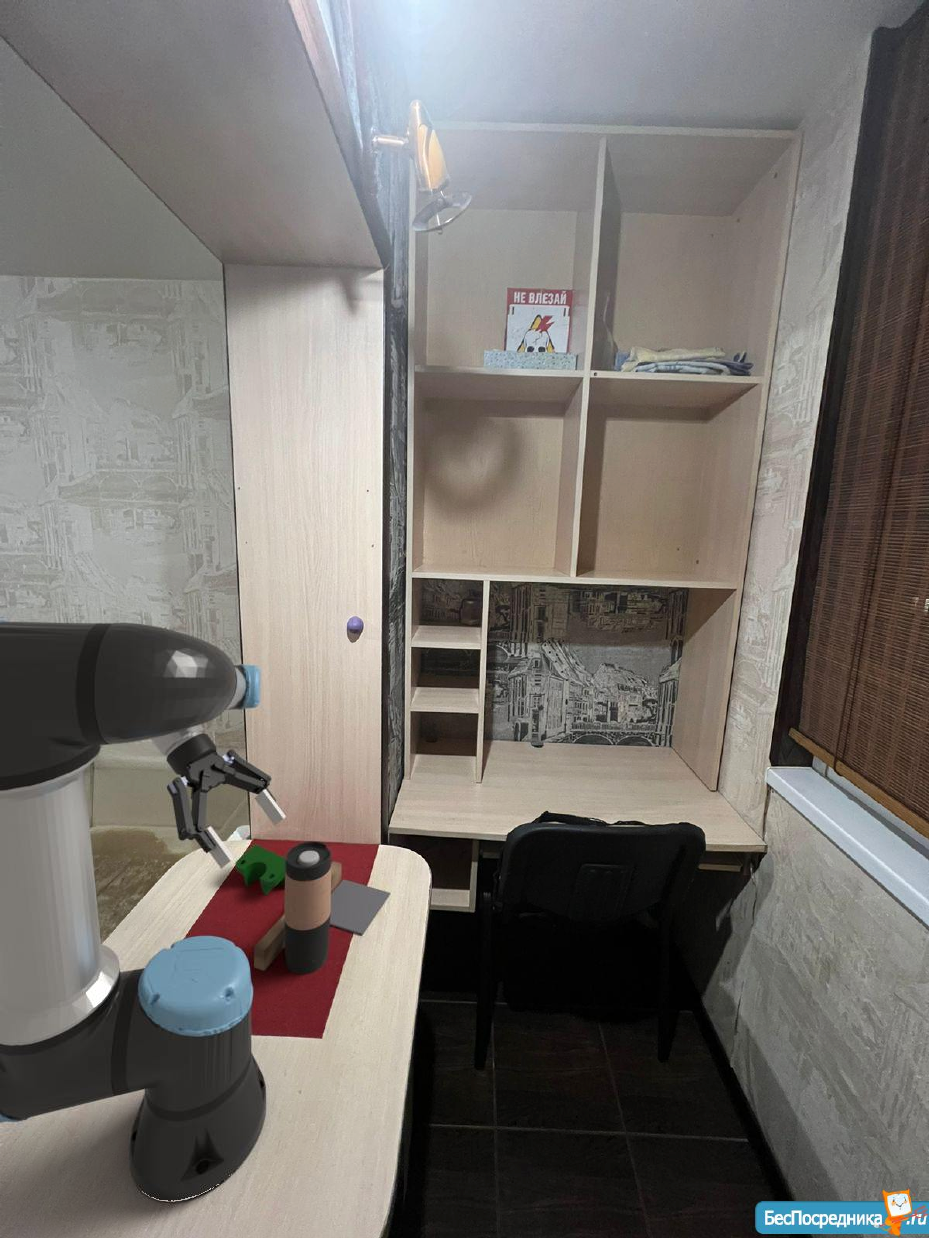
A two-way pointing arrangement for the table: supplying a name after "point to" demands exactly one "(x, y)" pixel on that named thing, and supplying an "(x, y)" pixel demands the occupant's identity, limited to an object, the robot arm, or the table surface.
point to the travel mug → (307, 906)
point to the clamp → (262, 868)
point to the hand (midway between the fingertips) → (256, 841)
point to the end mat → (355, 906)
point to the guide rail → (283, 931)
